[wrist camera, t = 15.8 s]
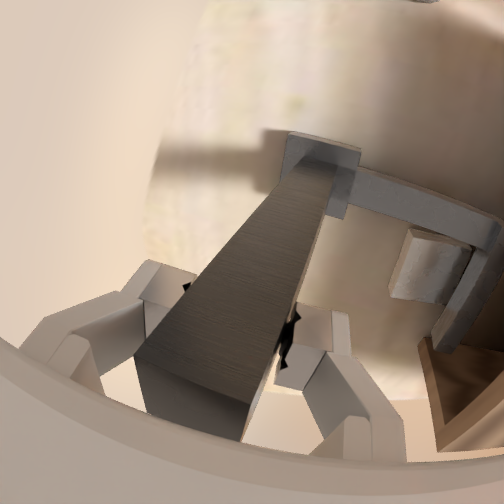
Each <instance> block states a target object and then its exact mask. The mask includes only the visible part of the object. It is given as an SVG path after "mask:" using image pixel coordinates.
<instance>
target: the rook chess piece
mask: <svg viewBox="0 0 504 504" xmlns="http://www.w3.org/2000/svg"><path fill="white" fill-rule="evenodd" d="M416 1H419V2H424V3H433V2H437V1H440V0H416Z"/></svg>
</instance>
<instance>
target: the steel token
mask: <svg viewBox="0 0 504 504" xmlns="http://www.w3.org/2000/svg"><path fill="white" fill-rule="evenodd" d="M471 253H472V249H471V247H470V246H469V244H468V243H466V242H463V241H460V240H458V239H455V238H452V237H448V236H443V235H439V234H434V233H429V232H425V231H420V230H415V229H411V228H408V231H407V234H406V237H405V240H404V243H403V246H402V249H401V252H400V255H399V258H398V260H397V263H396V266H395V269H394V271H393V274H392V277H391V279H390V282H389V284H388V290H389V294H390V297H392V298H398V299H405V300H412V301H419V302H426V303H434V304H441V305H447V303H448V301H449V299H450V297H451V295H452V293H453V291H454V289H455V287H456V285H457V283H458V281H459V279H460V277H461V275H462V273H463V271H464V268H465V266H466V264H467V262H468V260H469V257H470V255H471Z"/></svg>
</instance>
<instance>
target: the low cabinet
mask: <svg viewBox="0 0 504 504" xmlns="http://www.w3.org/2000/svg"><path fill="white" fill-rule="evenodd" d="M417 347H418V351H419V356H420V360H421V364H422V368H423V373H424V377H425V382H426V387H427V392H428V397H429V402H430V408H431V414H432V419H433V426H434V432H435V438H436V447H437V452H456V451H471V450H481V449H490V448H498V447H504V352H500V351H494V350H488V349H483V348H477V347H472V346H467V345H461V344H459V345H458V346H457V347H456V349H455V350H454V352H453V353H452V354H447V353H443V352H439V351H435V350H434V349H433V342H432V339H431V338H426V337H424V338H423V339H422V341H421V342H420V343H419V345H418V346H417Z"/></svg>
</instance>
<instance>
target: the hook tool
mask: <svg viewBox="0 0 504 504" xmlns="http://www.w3.org/2000/svg"><path fill="white" fill-rule="evenodd" d="M360 156H361V148H358V147H354V146H351V145H347V144H343V143H340V142H336V141H332V140H328V139H324V138H320V137H316V136H312V135H308V134H304V133H299V132H295V131H292V132H290V133H289V134H288V138H287V143H286V149H285V154H284V160H283V165H282V171H281V176H280V182H279V184H278V185H277V186H276V188H275V189H274V190H273V191H272V192H271V193H270V194H269V195H268V197H267V198H266V199H265V200H264V201H263V202H262V203H261V205H260V206H259V207H258V208H257V209H256V210H255V211H254V213H253V214H252V215H251V216H250V217H249V218H248V219H247V221H246V222H245V223H244V224H243V225H242V226H241V227H240V229H239V230H238V231H237V232H236V233H235V234H234V235H233V237H232V238H231V239H230V240H229V241H228V242H227V244H226V245H225V246H224V247H223V248H222V249H221V251H220V252H219V253H218V254H217V255H216V256H215V258H214V259H213V260H212V261H211V262H210V263H209V265H208V266H207V267H206V268H205V269H204V270H203V272H202V273H201V274H200V275H199V276H198V277H197V279H196V280H195V281H194V282H193V283H192V285H191V286H190V287H189V288H188V289H187V290H186V292H185V293H184V294H183V295H182V296H181V298H180V299H179V300H178V301H177V302H176V304H175V305H174V306H173V307H172V308H171V310H170V311H169V312H168V313H167V314H166V316H165V317H164V318H163V319H162V320H161V322H160V323H159V324H158V325H157V326H156V328H155V329H154V330H153V331H152V332H151V334H150V335H149V336H148V337H147V339H146V340H145V341H144V342H143V343H142V345H141V346H140V347H139V348H138V349H137V351H136V352H135V353H134V354H133V356H134V361H135V365H136V370H137V374H138V378H139V383H140V387H141V391H142V395H143V399H144V403H145V407H146V410H147V413H149V414H151V415H153V416H156V417H159V418H161V419H164V420H167V421H170V422H173V423H176V424H179V425H182V426H185V427H188V428H191V429H195V430H198V431H201V432H205V433H208V434H212V435H215V436H219V437H223V438H226V439H230V440H234V441H238V442H241V441H242V439H243V436H244V434H245V432H246V429H247V427H248V425H249V422H250V420H251V417H252V415H253V413H254V410H255V408H256V406H257V403H258V400H259V398H260V396H261V393H262V391H263V388H264V386H265V383H266V381H267V378H268V376H269V373H270V371H271V368H272V365H273V363H274V360H275V358H276V355H277V352H278V350H279V347H280V343H281V340H282V337H283V334H284V331H285V328H286V324H287V323H288V322H289V320H290V317H291V311H292V309H293V306H294V304H295V302H296V300H297V298H298V295H299V292H300V289H301V286H302V283H303V280H304V277H305V274H306V272H307V269H308V266H309V263H310V260H311V257H312V253H313V250H314V247H315V244H316V241H317V238H318V235H319V232H320V229H321V226H322V222H323V219H324V216H325V214H326V215H329V216H332V217H336V218H339V219H344V215H345V212H346V208H347V205H348V203H350V204H353V205H356V206H360V207H363V208H366V209H369V210H373V211H376V212H379V213H382V214H385V215H388V216H392V217H395V218H398V219H401V220H404V221H407V222H410V223H413V224H416V225H419V226H421V227H424V228H427V229H430V230H433V231H436V232H439V233H441V234H444V235H447V236H450V237H452V238H455V239H458V240H460V241H463V242H466V243H468V244H471V245H473V246H476V247H477V248H476V250H475V252H474V254H473V256H472V258H471V260H470V262H469V264H468V266H467V268H466V270H465V272H464V274H463V276H462V278H461V280H460V282H459V284H458V286H457V288H456V290H455V291H454V293H453V295H452V297H451V299H450V300H449V302H448V304H447V306H446V307H445V309H444V311H443V312H442V314H441V316H440V317H439V319H438V321H437V322H436V324H435V326H434V327H433V329H432V330H431V336H432V342H433V349H434V350H435V351H439V352H443V353H447V354H452V353H453V352H454V350H455V349H456V347H457V346H458V345H459V343H460V342H461V340H462V339H463V338H464V336H465V335H466V333H467V332H468V330H469V329H470V327H471V326H472V324H473V323H474V321H475V320H476V318H477V316H478V315H479V313H480V312H481V310H482V308H483V307H484V305H485V303H486V302H487V300H488V298H489V297H490V295H491V293H492V292H493V290H494V288H495V286H496V285H497V283H498V281H499V279H500V277H501V275H502V273H503V272H504V220H503V219H501V218H499V217H496V216H494V215H492V214H490V213H487V212H485V211H483V210H480V209H478V208H476V207H473V206H471V205H468V204H466V203H464V202H461V201H459V200H456V199H454V198H451V197H448V196H446V195H443V194H441V193H438V192H435V191H433V190H430V189H427V188H424V187H422V186H419V185H416V184H413V183H410V182H407V181H404V180H401V179H398V178H395V177H392V176H389V175H386V174H383V173H380V172H377V171H373V170H370V169H367V168H363V167H360V166H358V164H359V160H360Z"/></svg>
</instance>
